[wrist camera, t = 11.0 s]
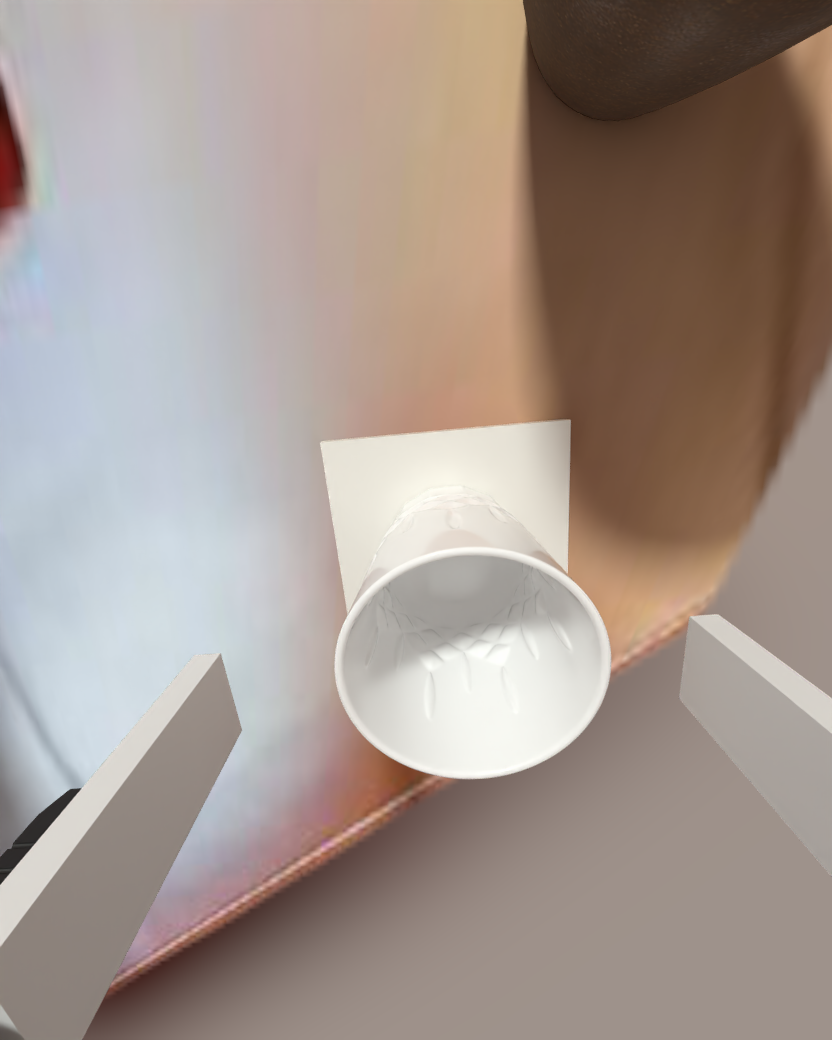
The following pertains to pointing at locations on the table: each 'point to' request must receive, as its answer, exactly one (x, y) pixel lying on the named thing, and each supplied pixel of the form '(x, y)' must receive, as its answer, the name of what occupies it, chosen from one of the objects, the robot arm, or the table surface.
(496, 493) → the tile
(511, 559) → the white cup
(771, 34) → the plant pot
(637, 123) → the table surface
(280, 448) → the table surface
